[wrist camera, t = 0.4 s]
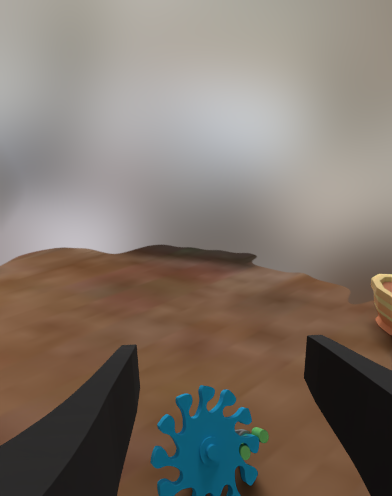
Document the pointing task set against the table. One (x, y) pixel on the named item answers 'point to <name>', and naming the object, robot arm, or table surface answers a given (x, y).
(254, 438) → the gear
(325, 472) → the table surface
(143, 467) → the table surface
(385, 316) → the potted cactus
